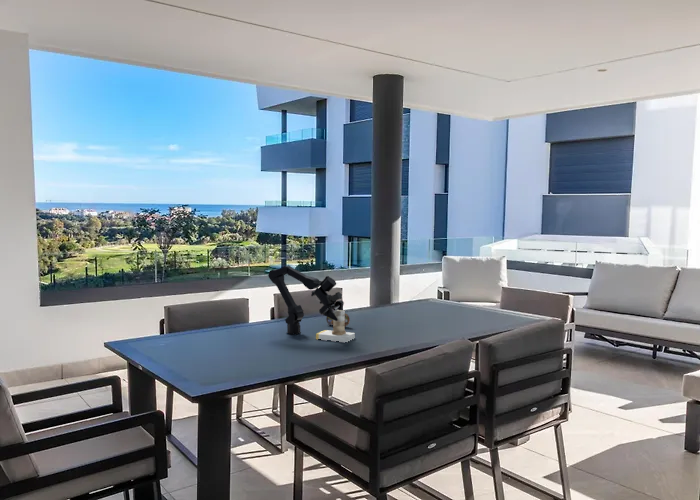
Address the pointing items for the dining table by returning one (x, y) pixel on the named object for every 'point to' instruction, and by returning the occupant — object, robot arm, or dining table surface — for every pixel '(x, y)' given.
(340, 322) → the beige tall block
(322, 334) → the dock
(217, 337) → the dining table surface
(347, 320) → the tin
